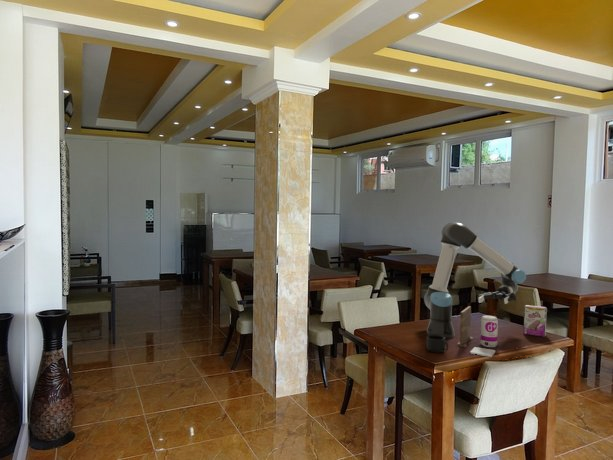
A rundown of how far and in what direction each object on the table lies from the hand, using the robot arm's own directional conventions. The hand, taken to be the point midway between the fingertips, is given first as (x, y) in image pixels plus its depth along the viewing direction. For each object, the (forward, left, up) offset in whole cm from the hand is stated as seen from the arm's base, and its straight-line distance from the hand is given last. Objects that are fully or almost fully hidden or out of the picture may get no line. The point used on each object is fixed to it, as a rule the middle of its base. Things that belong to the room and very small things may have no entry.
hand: (491, 300), depth 241 cm
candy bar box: (+18, +28, -22) cm, 40 cm away
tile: (0, -23, -22) cm, 32 cm away
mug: (-19, -34, -22) cm, 45 cm away
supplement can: (0, -8, -22) cm, 24 cm away
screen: (-11, -10, -22) cm, 27 cm away
